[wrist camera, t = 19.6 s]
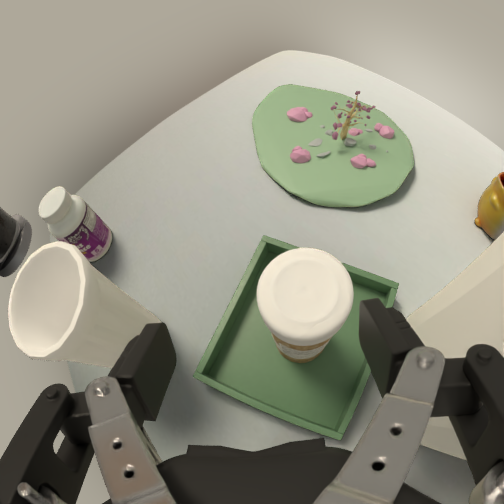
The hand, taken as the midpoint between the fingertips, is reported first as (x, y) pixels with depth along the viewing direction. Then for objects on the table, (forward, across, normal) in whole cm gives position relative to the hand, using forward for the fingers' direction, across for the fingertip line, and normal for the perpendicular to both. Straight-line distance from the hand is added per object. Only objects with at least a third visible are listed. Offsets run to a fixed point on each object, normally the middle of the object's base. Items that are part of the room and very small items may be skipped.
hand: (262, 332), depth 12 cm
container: (+8, -16, +14) cm, 22 cm away
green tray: (+12, -2, +9) cm, 15 cm away
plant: (+30, -9, -8) cm, 32 cm away
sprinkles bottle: (+12, -2, +9) cm, 15 cm away
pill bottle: (+22, +21, 0) cm, 30 cm away
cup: (+13, +14, +9) cm, 21 cm away
